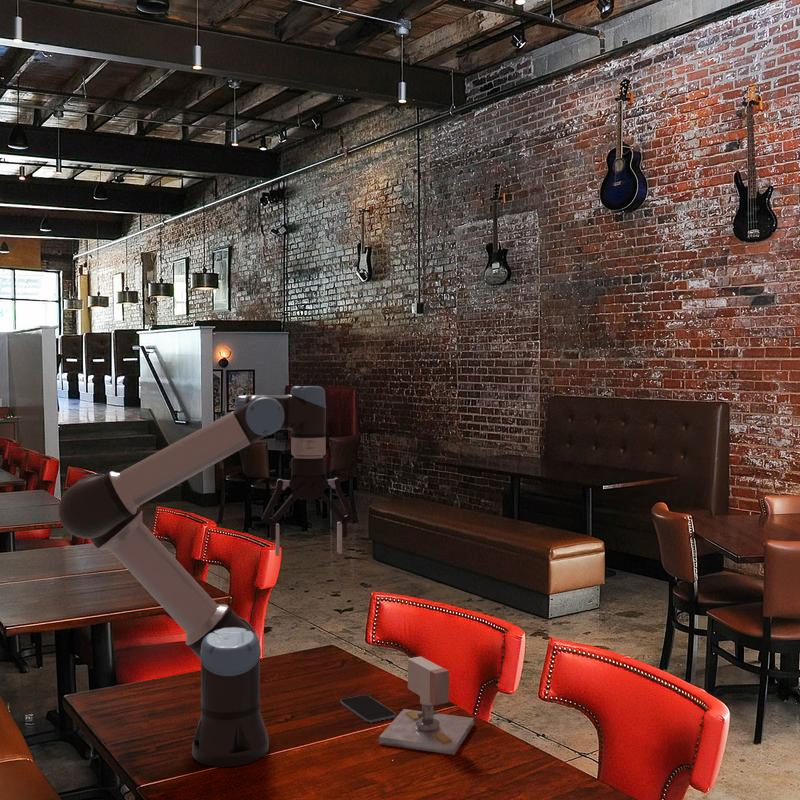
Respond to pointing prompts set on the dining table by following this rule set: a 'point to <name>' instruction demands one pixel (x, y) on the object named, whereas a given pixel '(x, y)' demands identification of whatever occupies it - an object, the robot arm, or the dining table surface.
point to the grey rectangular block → (428, 681)
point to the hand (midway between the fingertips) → (308, 553)
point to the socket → (427, 731)
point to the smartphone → (367, 708)
